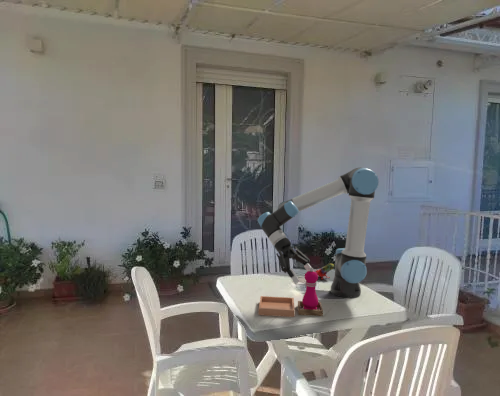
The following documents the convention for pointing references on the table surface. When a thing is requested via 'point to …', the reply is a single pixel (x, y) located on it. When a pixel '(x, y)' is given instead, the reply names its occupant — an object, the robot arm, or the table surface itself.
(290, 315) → the terracotta tray
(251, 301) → the table surface
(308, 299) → the pepper mill
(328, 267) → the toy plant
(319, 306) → the small wooden tray
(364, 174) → the robot arm
